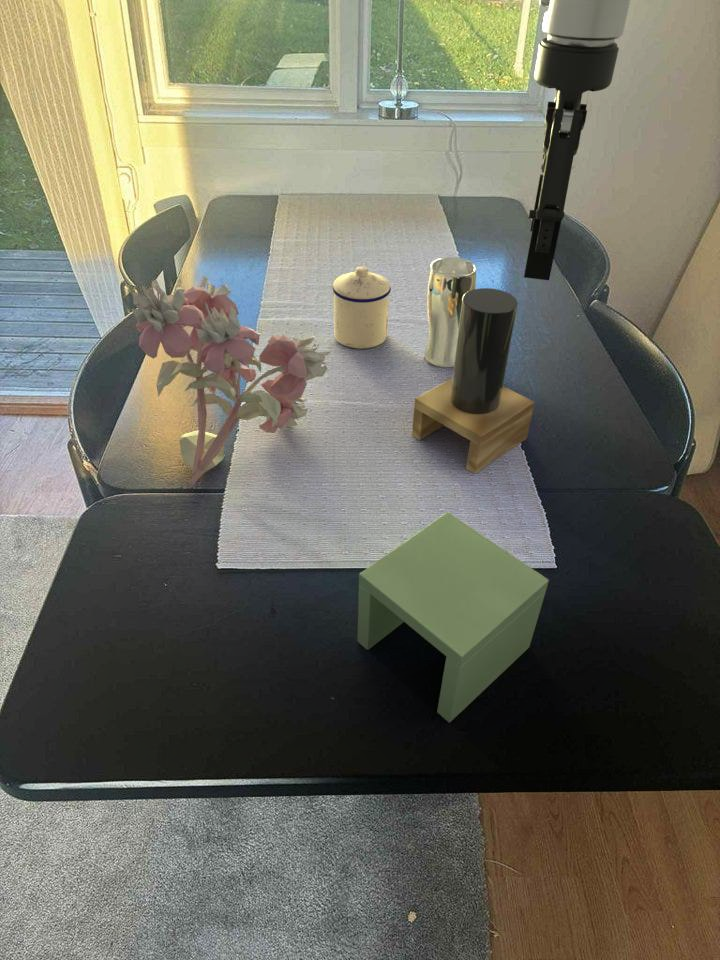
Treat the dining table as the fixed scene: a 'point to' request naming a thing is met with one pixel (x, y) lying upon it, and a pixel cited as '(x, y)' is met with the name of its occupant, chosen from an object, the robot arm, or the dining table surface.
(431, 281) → the beer glass
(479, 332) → the dark grey cylinder
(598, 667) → the dining table surface
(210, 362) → the flower
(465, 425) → the low shelf
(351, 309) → the teacup with lid
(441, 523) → the green step stool
